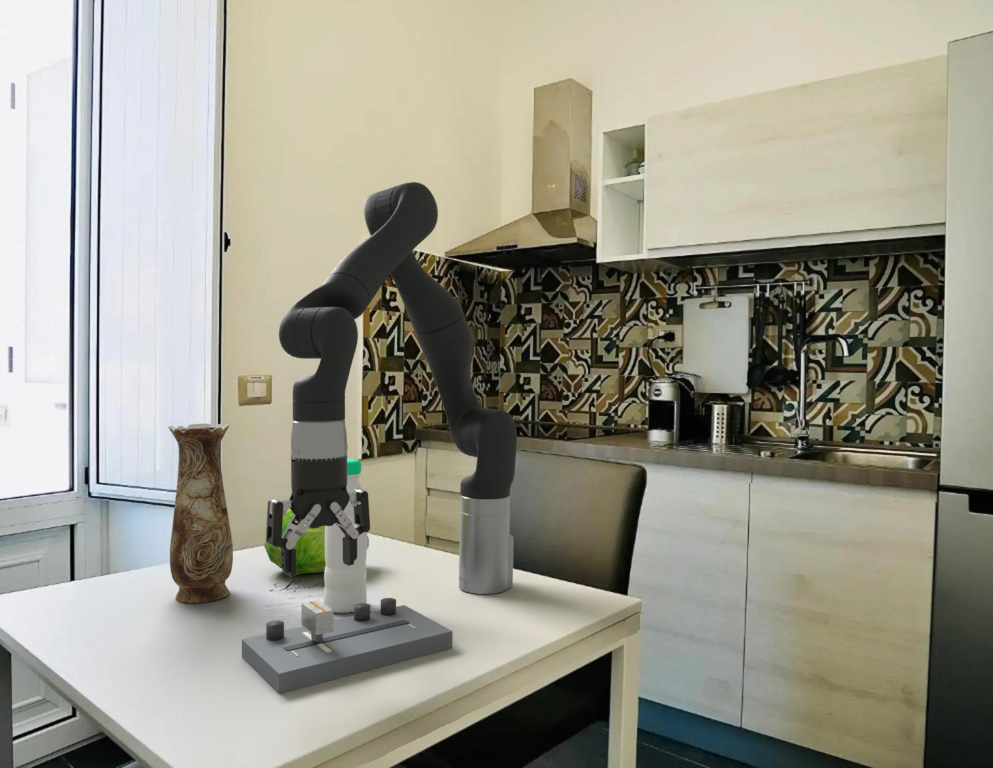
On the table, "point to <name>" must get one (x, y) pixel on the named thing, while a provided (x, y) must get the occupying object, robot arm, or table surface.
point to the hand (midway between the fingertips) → (320, 569)
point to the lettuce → (304, 549)
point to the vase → (200, 517)
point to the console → (343, 646)
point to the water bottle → (340, 579)
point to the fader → (317, 619)
